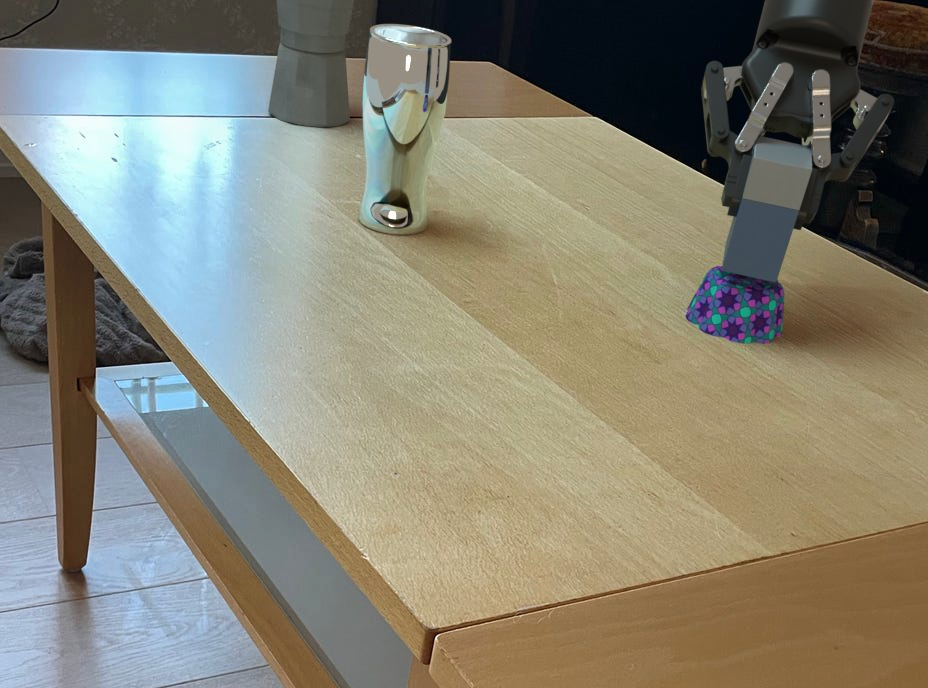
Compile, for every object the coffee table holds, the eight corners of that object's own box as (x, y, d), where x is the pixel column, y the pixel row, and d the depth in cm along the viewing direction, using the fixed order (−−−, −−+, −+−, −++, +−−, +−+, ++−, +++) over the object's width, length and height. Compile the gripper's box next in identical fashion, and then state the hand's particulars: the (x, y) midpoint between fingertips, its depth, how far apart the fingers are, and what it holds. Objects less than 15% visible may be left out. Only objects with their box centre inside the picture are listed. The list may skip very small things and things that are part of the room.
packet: (777, 255, 88) (811, 146, 83) (776, 282, 83) (812, 169, 78) (725, 244, 89) (756, 135, 84) (721, 270, 84) (754, 157, 79)
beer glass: (339, 209, 102) (352, 21, 93) (410, 206, 105) (429, 24, 96) (373, 239, 98) (390, 44, 88) (445, 235, 101) (469, 46, 91)
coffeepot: (374, 133, 121) (390, -65, 110) (290, 134, 117) (298, -71, 106) (319, 91, 132) (328, -94, 120) (239, 90, 128) (242, -101, 116)
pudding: (666, 298, 96) (682, 235, 92) (810, 334, 93) (832, 271, 90) (637, 351, 86) (653, 283, 83) (795, 393, 84) (819, 325, 81)
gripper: (901, 51, 87) (851, 263, 85) (714, 15, 88) (660, 222, 86) (935, -19, 79) (881, 212, 78) (730, -56, 81) (672, 169, 79)
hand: (765, 216), depth 82 cm, fingers closed on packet, 4 cm apart
